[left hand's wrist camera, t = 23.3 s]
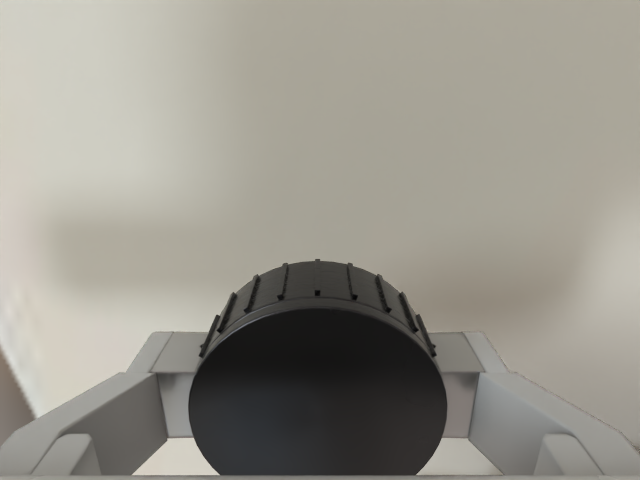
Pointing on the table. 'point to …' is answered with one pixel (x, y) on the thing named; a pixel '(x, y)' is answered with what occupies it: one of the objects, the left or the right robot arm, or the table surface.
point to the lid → (317, 378)
